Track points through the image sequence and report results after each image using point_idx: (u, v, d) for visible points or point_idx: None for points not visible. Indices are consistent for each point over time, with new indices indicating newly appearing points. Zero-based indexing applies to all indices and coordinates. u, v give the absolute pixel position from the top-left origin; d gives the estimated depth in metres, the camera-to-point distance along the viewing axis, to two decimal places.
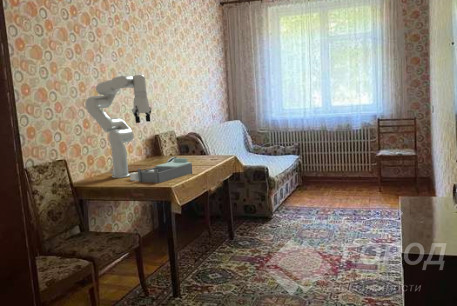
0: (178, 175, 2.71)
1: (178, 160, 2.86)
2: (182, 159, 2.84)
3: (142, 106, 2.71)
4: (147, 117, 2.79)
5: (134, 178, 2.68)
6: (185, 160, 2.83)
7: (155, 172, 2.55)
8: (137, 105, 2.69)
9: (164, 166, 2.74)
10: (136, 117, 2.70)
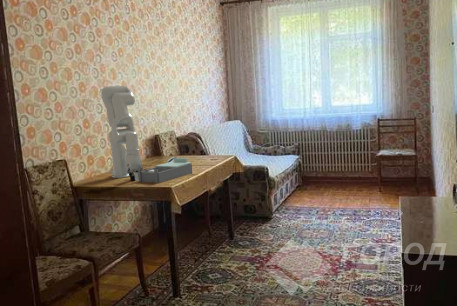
0: (178, 175, 2.71)
1: (178, 160, 2.86)
2: (182, 159, 2.84)
3: (134, 164, 2.66)
4: None
5: None
6: (185, 160, 2.83)
7: (155, 172, 2.55)
8: (129, 163, 2.64)
9: (164, 166, 2.74)
10: (131, 177, 2.67)
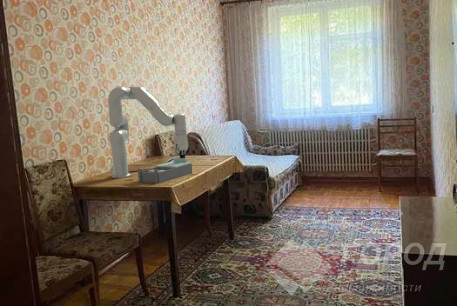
0: (178, 175, 2.71)
1: (178, 160, 2.86)
2: (182, 159, 2.84)
3: (182, 144, 2.84)
4: None
5: None
6: (185, 160, 2.83)
7: (155, 172, 2.55)
8: (178, 143, 2.82)
9: (164, 166, 2.74)
10: (181, 155, 2.86)
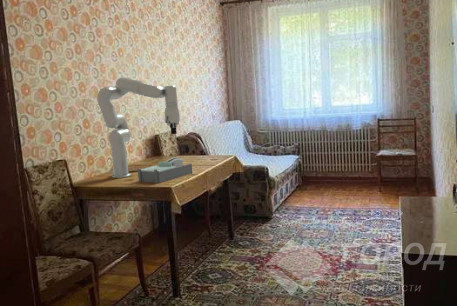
0: (178, 175, 2.71)
1: (162, 164, 2.73)
2: (166, 163, 2.71)
3: (173, 116, 2.75)
4: None
5: None
6: (170, 164, 2.70)
7: (155, 172, 2.55)
8: (168, 115, 2.73)
9: (147, 171, 2.60)
10: (172, 128, 2.78)
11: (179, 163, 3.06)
